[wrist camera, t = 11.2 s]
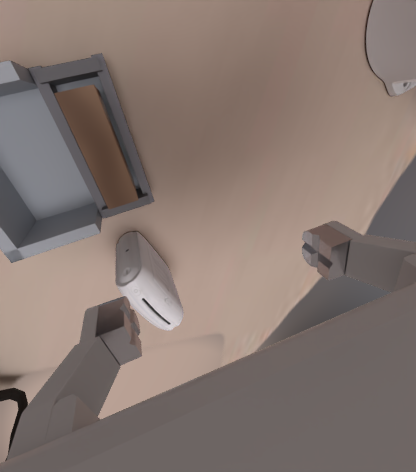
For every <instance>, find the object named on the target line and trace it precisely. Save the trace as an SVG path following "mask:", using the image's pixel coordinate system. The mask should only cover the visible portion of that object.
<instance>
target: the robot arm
mask: <svg viewBox="0 0 416 472" xmlns="http://www.w3.org/2000/svg"><path fill="white" fill-rule="evenodd" d="M366 48H367V55H368V60H369V63H370V66H371V68H372V70H373V71H374V73H375V74H376V75H377V76H378V77H379V78H381V79H382V80H383V81H384V82H385V85H386V88H387V91H388V93H389V95H390V96H397V95H400V94H402V93H404V92H406V91H408V90H409V89H411V88H413V87H415V86H416V0H373V3H372V7H371V10H370V14H369V19H368V24H367V33H366ZM302 240H303V241H304V242H305V244H304V245H303V247H302V254H303V256H304V259H305V260H306V262H307V263H308V264H309V265H310V266H313V267H317V271H318V273H320V274H321V275H322V276H323V277H324V278H325V279H327V280H331V279H334V278H337V277H339V276H342V275H346V276H348V277H351V278H354V279H356V280H359V281H362V282H364V283H367V284H370V285H373V286H375V287H378V288H381V289H383V290H386V291H389V292H392V293H390V294H388V295H385V296H383V297H381V298H378V299H376V300H374V301H371V302H369V303H367V304H365V305H362V306H360V307H358V308H355V309H353V310H351V311H349V312H346V313H344V314H342V315H339V316H337V317H335V318H333V319H330V320H328V321H326V322H323V323H321V324H319V325H317V326H314V327H312V328H310V329H308V330H306V331H303V332H301V333H298V334H296V335H294V336H291V337H289V338H287V339H284V340H282V341H280V342H278V343H276V344H273V345H271V346H268V347H266V348H264V349H262V350H260V351H257V352H255V353H252V354H250V355H248V356H245V357H243V358H241V359H239V360H236V361H234V362H232V363H229V364H227V365H225V366H223V367H220V368H218V369H216V370H213V371H211V372H209V373H206V374H204V375H202V376H200V377H197V378H195V379H193V380H191V381H188V382H186V383H184V384H181V385H179V386H177V387H174V388H172V389H170V390H168V391H165V392H163V393H161V394H158V395H156V396H154V397H151V398H149V399H147V400H145V401H142V402H140V403H138V404H136V405H133V406H131V407H129V408H126V409H124V410H122V411H119V412H117V413H115V414H113V415H111V416H108V417H106V418H104V419H101V420H100V419H99V418H98V415H99V413H100V410H101V408H102V406H103V404H104V402H105V400H106V397H107V395H108V393H109V391H110V389H111V386H112V384H113V382H114V380H115V378H116V376H117V373H118V371H119V369H120V366H121V365H123V364H125V363H127V362H129V361H132V360H134V359H137V358H139V357H141V356H142V350H141V341H140V339H139V337H138V335H139V333H140V326H139V322H138V318H137V316H136V313H135V311H134V310H132V309H130V302H129V300H128V298H127V297H126V296H124V297H121V298H118V299H115V300H112V301H109V302H106V303H103V304H100V305H97V306H94V307H91V308H89V309H87V310H86V311H85V315H84V320H83V326H82V331H81V337H80V342H79V344H77V345H75V346H74V348H73V349H72V350H71V351H70V353H69V354H68V355H67V356H66V358H65V359H64V360H63V362H62V363H61V364H60V365H59V367H58V368H57V369H56V370H55V372H54V373H53V374H52V376H51V377H50V378H49V379H48V381H47V382H46V383H45V384H44V386H43V387H42V388H41V390H40V391H39V392H38V393H37V395H36V396H35V397H34V399H33V400H32V401H31V402H30V404H29V405H28V406H27V407H26V409H25V410H24V411H23V412H22V414H21V417H20V420H19V423H18V426H17V429H16V433H15V436H14V439H13V442H12V445H11V448H10V451H9V454H8V457H7V460H6V461H5V462H3V463H0V472H416V242H412V241H405V240H399V239H392V238H386V237H379V236H372V235H364V236H363V235H361V234H359V233H358V232H356V231H354V230H352V229H350V228H348V227H347V226H345V225H343V224H341V223H339V222H337V221H331V222H328V223H325V224H323V225H321V226H318V227H315V228H313V229H310V230H307V231H304V233H303V236H302Z"/></svg>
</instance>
